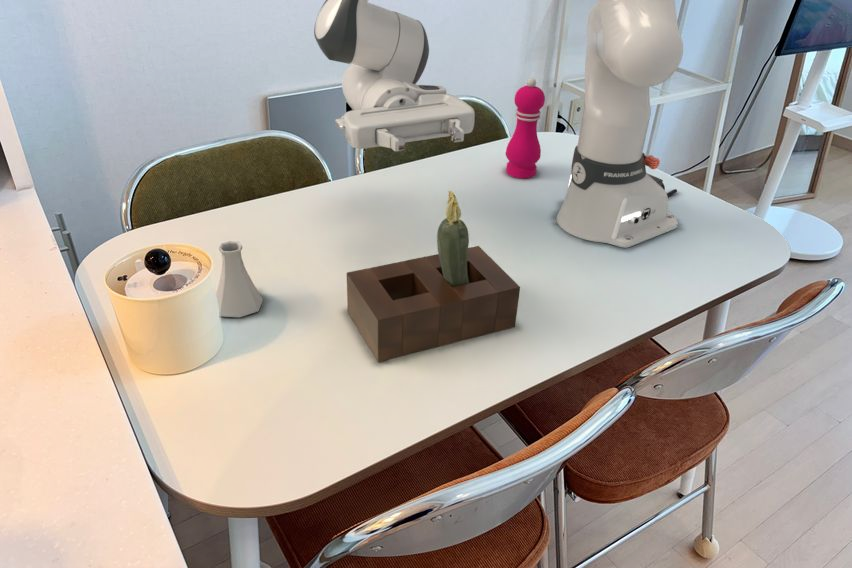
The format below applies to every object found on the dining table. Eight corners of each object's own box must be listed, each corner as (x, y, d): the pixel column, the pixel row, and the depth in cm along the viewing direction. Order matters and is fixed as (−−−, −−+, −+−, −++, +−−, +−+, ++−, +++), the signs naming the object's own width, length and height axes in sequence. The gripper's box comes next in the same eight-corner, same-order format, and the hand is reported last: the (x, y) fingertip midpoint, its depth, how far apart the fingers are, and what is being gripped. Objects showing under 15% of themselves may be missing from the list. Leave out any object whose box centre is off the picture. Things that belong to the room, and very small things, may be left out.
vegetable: (469, 324, 101) (463, 204, 89) (440, 321, 102) (430, 202, 90) (473, 305, 105) (469, 187, 93) (445, 303, 105) (437, 186, 94)
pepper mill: (520, 163, 152) (531, 71, 141) (545, 174, 147) (558, 80, 136) (496, 171, 148) (506, 76, 137) (521, 182, 143) (533, 86, 132)
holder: (475, 283, 110) (478, 245, 106) (515, 327, 101) (520, 287, 97) (347, 312, 103) (346, 272, 99) (378, 362, 93) (377, 320, 89)
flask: (213, 322, 99) (204, 262, 94) (212, 294, 105) (202, 236, 100) (265, 315, 101) (259, 256, 96) (260, 288, 107) (254, 231, 102)
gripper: (330, 98, 105) (361, 129, 95) (451, 84, 113) (493, 111, 102) (332, 138, 109) (363, 172, 98) (449, 122, 116) (490, 152, 106)
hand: (430, 141), depth 100 cm, fingers open, 8 cm apart
